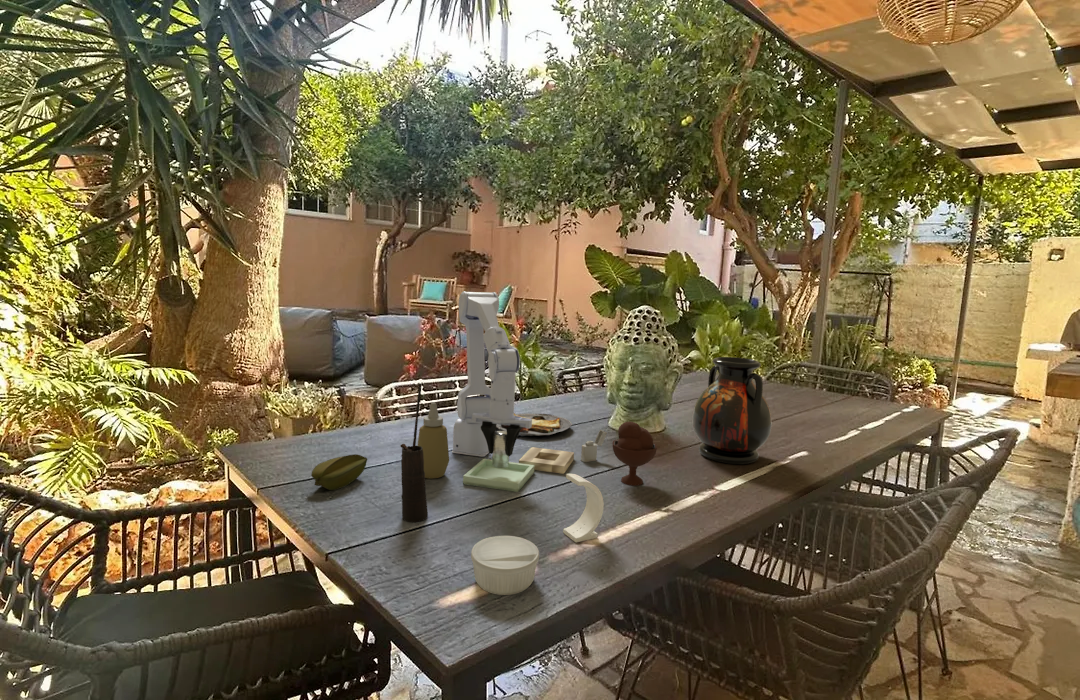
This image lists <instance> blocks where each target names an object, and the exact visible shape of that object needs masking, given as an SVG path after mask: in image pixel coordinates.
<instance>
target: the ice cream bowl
mask: <svg viewBox="0 0 1080 700" xmlns="http://www.w3.org/2000/svg"><path fill="white" fill-rule="evenodd" d="M617 435H618V439H615V440H612V450H613V451H612V452H613V454H614V455H615V457H616V458H617V459H618V460H619V461H620V462H621V463H622V464H624V465H626V466H628V468H629V472H628V474H626V475H625V476H624V475H623V476H622V477H621V481H620V482H621V483H622V484H625V485H627V486H634V487H635V486H642V485H643V484H644V480H643V479H642V478H641V477H640V476H638V475H637V469H638V467H641V466H644V465H645V464H647V463H649V462H651V461H652V460H653V459H654V457H656V452H657V450H658V446H657V444H656V443H654V438H653V436H652V434H651V432H650V431H649V430H648V429H645V427H644V428H643V426H642V427H641V426H640V425H639V423H637V422H634V421H625V422H623V423H621V424H620V426H619V427H618V429H617Z"/></svg>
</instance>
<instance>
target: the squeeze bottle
mask: <svg viewBox="0 0 1080 700" xmlns="http://www.w3.org/2000/svg"><path fill="white" fill-rule="evenodd" d="M417 446H421V447H422V448H423V455H424V457H423V458H424V472H425V479H431V480H432V479H439V478H441V477H444V476H445V475H446V472H447V468H448V465H449V463H450V452H449V441H448V429H447V427H446V426H445V425H444V417H443V416H440V415H439V411H438V406H437V403H436V402H431V403H430V407H429V411H428V415H427V416H424V417H423V425H422V426H420V427H419V430H418V438H417Z"/></svg>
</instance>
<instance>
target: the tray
mask: <svg viewBox="0 0 1080 700" xmlns="http://www.w3.org/2000/svg"><path fill="white" fill-rule="evenodd" d="M534 474H535V470H534V465H529V464H521V463H519V462H512V461H509V466H508V467H505V468H496V467H493V466H492V459H490V458H489V459H488V458H482V459H481V460H480V461H479V462H477V464H475V465H474V466H473V467H472V468H471V469H469V470H468V471H467V472H466V473H465V474H463V475H462V485H467V486H475V487H480V488H481V487H482V488H489V489H494V490H495V489H496V490H501V491H509V492H515V493H519V492H520V491H521V489H523V487H524V486H525V485H526V483H527V482H528V481H529V480H530V478H532V476H533V475H534Z"/></svg>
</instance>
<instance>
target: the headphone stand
mask: <svg viewBox="0 0 1080 700" xmlns="http://www.w3.org/2000/svg"><path fill="white" fill-rule="evenodd" d="M565 478H566V480H568V481H570V482H572V483H573V484H574V485H576V486H578V487H584V490H585V492H586V493H585V494H586V503H585V508H584V510H583V511H582V513H581V515H580V517H579V518H578V519H577V520H576V521H575V522H574V523H572V524H571V525H570V526H568V527H564V528H563V531H562V533H563V534H564V535H565V536H567V537H568V538H569V539H571V541H573V542H575V543H579V542H584V541H590V540H593V539H598V536H599V533H598V532H596V531H595V530H596V529H597V527H598V526H599V524H600V522H601V519H602V517H603V513H604V507H605V504H604V498H603V497H604V496H603V494H602V492H601V491H600V489H599V487H598V486H597V485H595V484H593V483H592V482H591V481H588V480H587V479H586V478H584V477H582V476H580V475H578V474H575V473H566V474H565Z"/></svg>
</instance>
